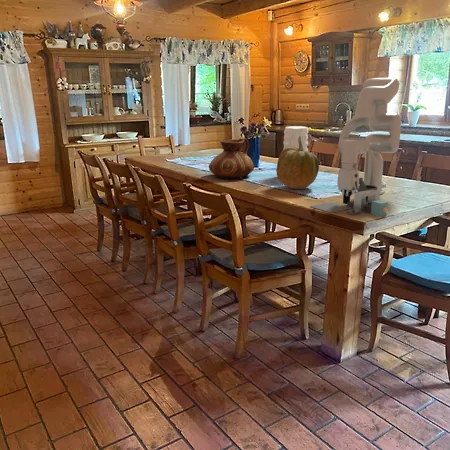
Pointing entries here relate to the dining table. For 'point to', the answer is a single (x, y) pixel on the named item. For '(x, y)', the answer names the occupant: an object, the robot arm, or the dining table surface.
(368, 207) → the lead
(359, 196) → the housing
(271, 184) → the dining table surface
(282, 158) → the pumpkin
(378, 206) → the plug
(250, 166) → the jug
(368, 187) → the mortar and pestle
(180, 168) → the dining table surface
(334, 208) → the mat
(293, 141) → the vase
